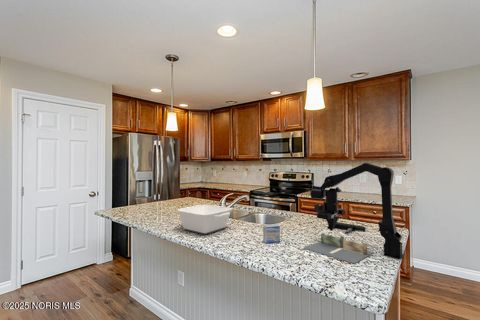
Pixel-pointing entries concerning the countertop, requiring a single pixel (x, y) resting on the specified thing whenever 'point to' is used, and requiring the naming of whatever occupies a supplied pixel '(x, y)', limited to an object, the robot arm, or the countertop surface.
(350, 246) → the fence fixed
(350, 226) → the door handle
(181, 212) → the tub
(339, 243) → the folding panel
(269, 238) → the medicine box
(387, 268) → the countertop surface
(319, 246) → the card
